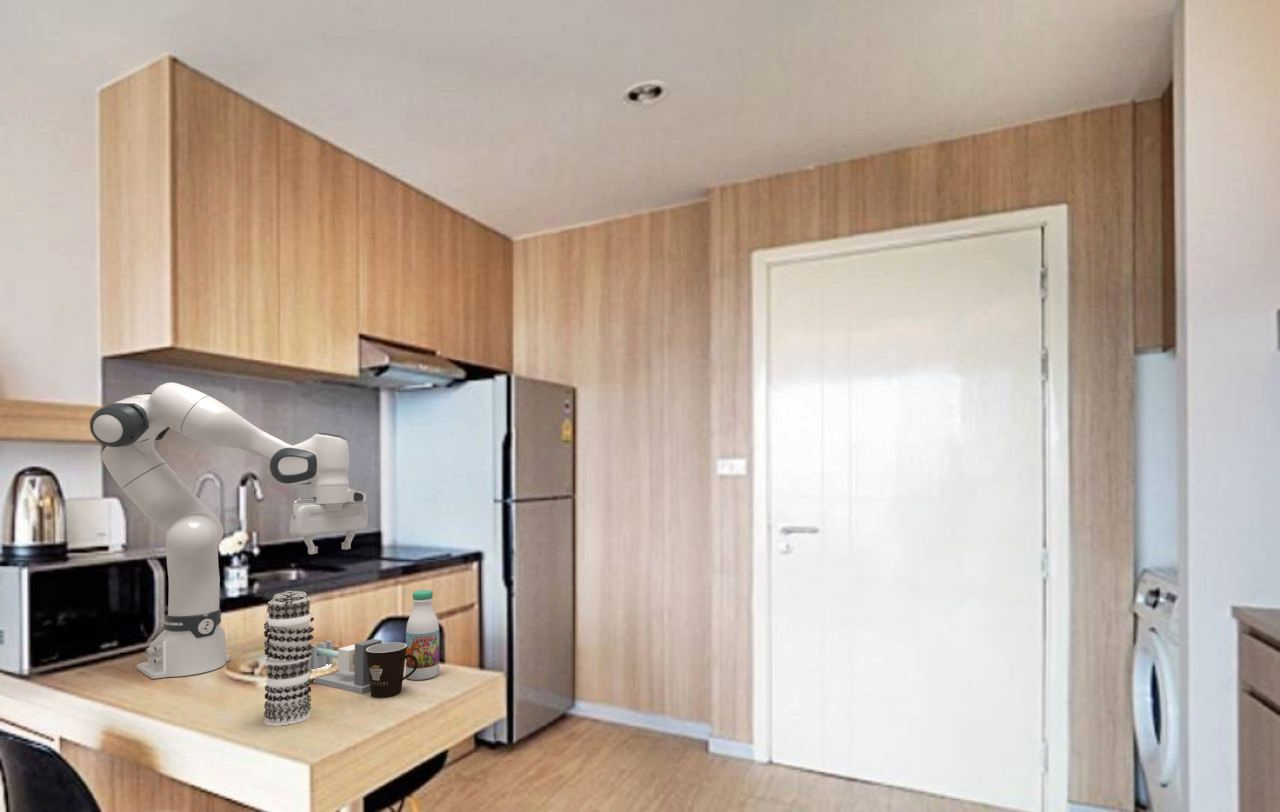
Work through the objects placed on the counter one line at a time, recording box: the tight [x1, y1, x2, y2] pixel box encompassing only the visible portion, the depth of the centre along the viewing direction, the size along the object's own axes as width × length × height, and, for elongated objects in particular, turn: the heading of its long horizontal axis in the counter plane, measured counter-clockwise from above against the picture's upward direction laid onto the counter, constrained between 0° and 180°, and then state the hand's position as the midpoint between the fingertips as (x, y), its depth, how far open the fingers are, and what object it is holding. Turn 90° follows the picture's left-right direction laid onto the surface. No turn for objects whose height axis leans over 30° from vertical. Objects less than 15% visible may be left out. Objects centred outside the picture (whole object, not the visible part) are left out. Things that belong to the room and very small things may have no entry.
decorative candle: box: [263, 590, 315, 727], centre depth 143 cm, size 9×9×25 cm
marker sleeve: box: [337, 643, 356, 672], centre depth 164 cm, size 4×5×5 cm
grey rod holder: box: [309, 638, 383, 695], centre depth 165 cm, size 22×7×10 cm, turn 59°
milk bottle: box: [405, 589, 440, 681], centre depth 169 cm, size 8×8×20 cm
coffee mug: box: [366, 641, 418, 699], centre depth 156 cm, size 12×9×10 cm
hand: (329, 551), depth 178 cm, fingers open, 8 cm apart
